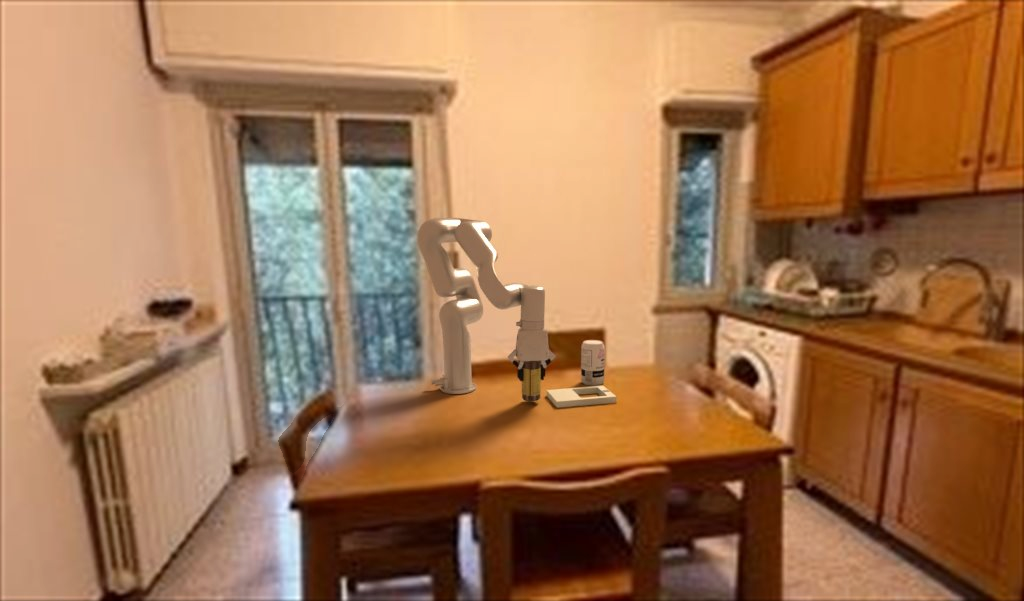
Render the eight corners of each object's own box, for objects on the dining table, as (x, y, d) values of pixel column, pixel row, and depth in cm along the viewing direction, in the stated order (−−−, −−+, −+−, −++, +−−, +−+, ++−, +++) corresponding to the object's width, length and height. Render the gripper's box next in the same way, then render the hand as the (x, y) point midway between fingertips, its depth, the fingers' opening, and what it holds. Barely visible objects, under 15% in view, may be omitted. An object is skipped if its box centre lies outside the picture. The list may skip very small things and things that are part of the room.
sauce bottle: (541, 396, 185) (543, 337, 182) (539, 402, 179) (541, 342, 176) (522, 394, 186) (524, 336, 183) (519, 401, 180) (520, 340, 177)
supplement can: (581, 379, 208) (581, 339, 206) (603, 379, 207) (604, 339, 204) (580, 385, 200) (581, 344, 198) (604, 386, 199) (605, 345, 196)
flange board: (556, 407, 178) (556, 401, 178) (546, 395, 190) (546, 389, 189) (616, 402, 182) (616, 396, 182) (602, 391, 194) (602, 385, 193)
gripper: (508, 328, 173) (507, 384, 176) (562, 326, 177) (560, 381, 180) (503, 323, 180) (502, 377, 184) (555, 321, 184) (553, 374, 187)
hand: (531, 379), depth 182 cm, fingers closed on sauce bottle, 6 cm apart
